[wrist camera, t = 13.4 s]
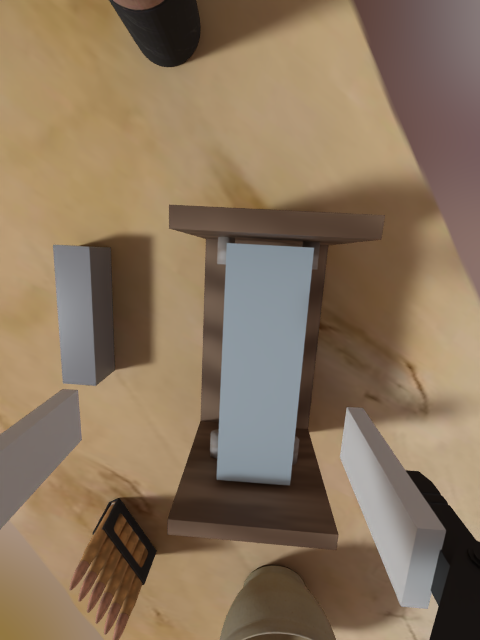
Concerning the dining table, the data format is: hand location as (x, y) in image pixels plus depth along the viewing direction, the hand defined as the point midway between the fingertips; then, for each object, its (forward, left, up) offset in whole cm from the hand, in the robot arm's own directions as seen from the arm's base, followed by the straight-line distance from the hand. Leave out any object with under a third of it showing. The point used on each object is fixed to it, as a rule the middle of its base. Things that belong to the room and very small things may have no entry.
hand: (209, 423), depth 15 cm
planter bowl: (+42, +8, -25) cm, 50 cm away
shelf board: (+2, +3, -16) cm, 17 cm away
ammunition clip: (+33, -14, -25) cm, 44 cm away
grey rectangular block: (0, -18, -25) cm, 31 cm away
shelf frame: (+2, +3, -25) cm, 25 cm away
